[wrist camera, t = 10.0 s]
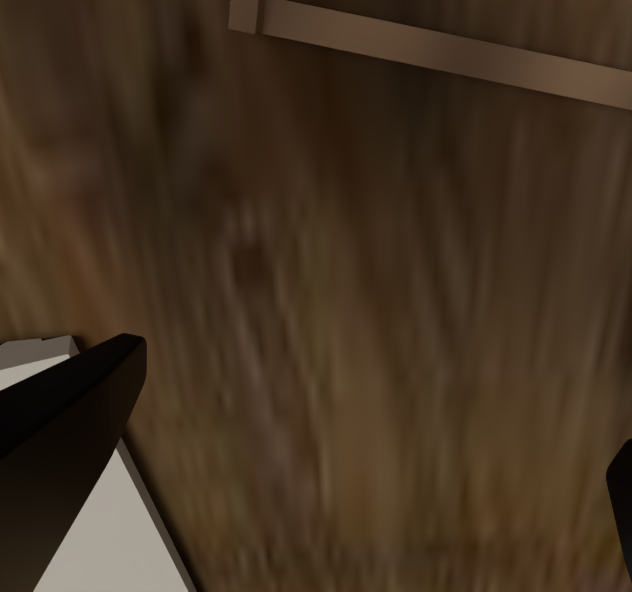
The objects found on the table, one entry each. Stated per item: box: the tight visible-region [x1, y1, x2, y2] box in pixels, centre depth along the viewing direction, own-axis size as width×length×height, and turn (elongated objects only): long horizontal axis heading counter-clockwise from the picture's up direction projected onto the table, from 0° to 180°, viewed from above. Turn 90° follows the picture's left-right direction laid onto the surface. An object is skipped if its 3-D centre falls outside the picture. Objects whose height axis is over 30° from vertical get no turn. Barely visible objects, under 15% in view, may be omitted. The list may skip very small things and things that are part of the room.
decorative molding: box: [0, 335, 197, 592], centre depth 33 cm, size 34×5×10 cm
